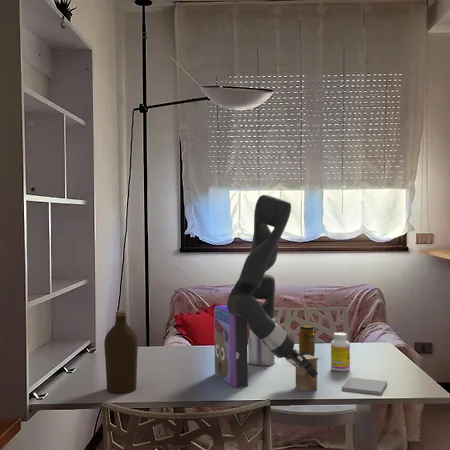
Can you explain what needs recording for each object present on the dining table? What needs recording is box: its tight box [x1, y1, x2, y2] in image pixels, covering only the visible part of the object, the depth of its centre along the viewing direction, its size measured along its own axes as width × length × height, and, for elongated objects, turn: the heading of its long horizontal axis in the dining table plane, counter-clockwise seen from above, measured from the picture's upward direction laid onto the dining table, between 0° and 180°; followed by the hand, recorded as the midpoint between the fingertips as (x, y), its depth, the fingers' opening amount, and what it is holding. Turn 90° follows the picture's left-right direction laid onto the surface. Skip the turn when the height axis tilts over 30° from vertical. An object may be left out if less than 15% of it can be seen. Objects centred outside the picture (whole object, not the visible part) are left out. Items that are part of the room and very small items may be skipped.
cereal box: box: [213, 304, 249, 389], centre depth 192 cm, size 17×5×24 cm, turn 22°
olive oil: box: [103, 310, 139, 394], centre depth 183 cm, size 11×11×25 cm
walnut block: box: [295, 355, 318, 392], centre depth 182 cm, size 5×5×10 cm
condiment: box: [298, 324, 319, 358], centre depth 222 cm, size 7×8×12 cm
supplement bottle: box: [330, 332, 351, 373], centre depth 204 cm, size 7×7×13 cm
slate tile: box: [341, 376, 388, 396], centre depth 183 cm, size 12×12×1 cm
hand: (309, 372), depth 183 cm, fingers open, 8 cm apart
